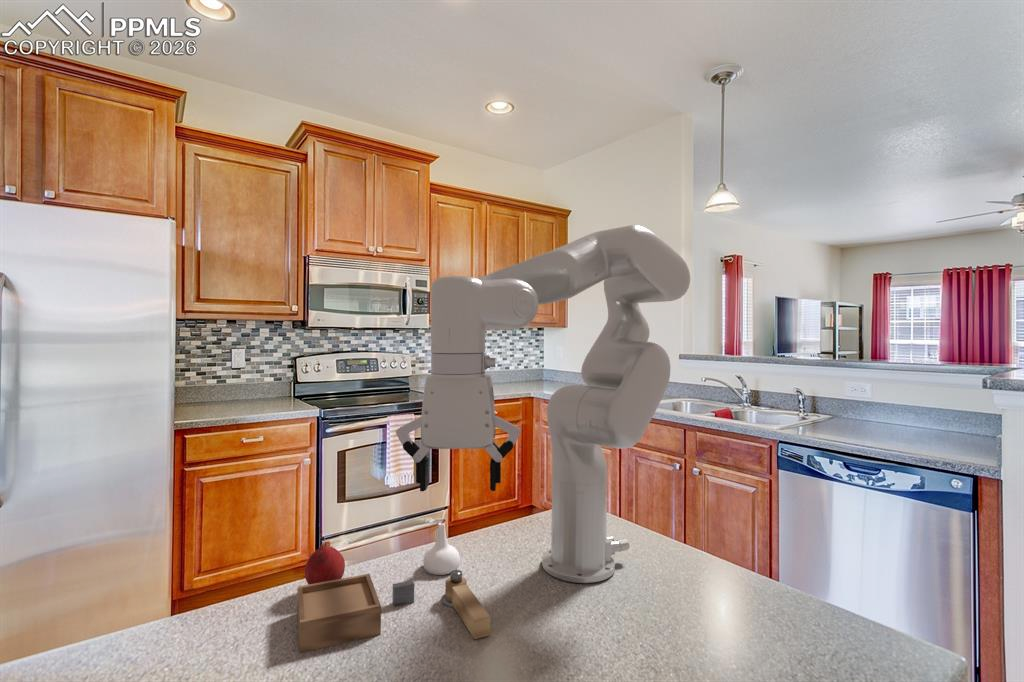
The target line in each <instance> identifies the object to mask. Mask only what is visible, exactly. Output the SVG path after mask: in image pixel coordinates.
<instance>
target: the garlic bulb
mask: <svg viewBox="0 0 1024 682" xmlns="http://www.w3.org/2000/svg"><path fill="white" fill-rule="evenodd" d="M437 525H438V526H437V533H436V538H435V539H436V540H435V543H434V545H433V546H430V548H428V549H427V550H426V552H425V554H424V556H423V560H422V564H423V567H424V570H425V571H426V573H429V574H430V575H433V574H434V575H435V576H447V575H450V574H449V573H450V572H451V571H453V570H458V568H459V567H460V563H461V556H460V554H459V553H460V552H459V551H458V549H456V547H455V546H453V545H451V544H449V543H448V539H447V534H446V524H445V522H443V523H441V522H438V523H437ZM446 574H447V575H446Z"/></svg>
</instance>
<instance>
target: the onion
mask: <svg viewBox="0 0 1024 682" xmlns="http://www.w3.org/2000/svg"><path fill="white" fill-rule="evenodd" d="M331 544H332V543H331V541H330V540H329V539H326V540H324V541H323V542H322V543H321V545H320V546H319V548H317V549H315V550H314V551H313V552H312V554H311V555H310V556H309V557H308V560H307V561H306V563H305V566H304V577H305V581H306V583H307V585H309V584H315V583H320V582H326V581H331V580H337V579H342V578H344V577H343V576H344V573H345V569H346V564H345V563H346V561H345V559H344V556H343V555H342V554H341V552H340V551H339V550H338V549H337V548H336V547H333V546H332V545H331Z"/></svg>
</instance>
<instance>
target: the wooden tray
mask: <svg viewBox="0 0 1024 682" xmlns="http://www.w3.org/2000/svg"><path fill="white" fill-rule="evenodd" d="M374 585H375V584H374V583H373V580H372V578H371V574H370V573H366V574H361V575H355V576H350V577H349V576H348V577H342V578H341V579H337V580H331V581H326V582H320V583H315V584H309V585H308V584H303V585H297V603H296V604H297V606H296V607H297V630H298V632H297V633H298V651H299V654H300V653H305V652H311V651H313V650H318V649H323V648H327V647H331V646H332V647H333V646H335V645H340V644H345V643H347V642H348V643H349V642H353V641H358V640H362V639H365V638H370V637H375V636H378V635H381V634H382V604H381V602H380V599H379V597H378V593H377V591H376V588H375V586H374Z"/></svg>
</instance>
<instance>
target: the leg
mask: <svg viewBox="0 0 1024 682" xmlns="http://www.w3.org/2000/svg"><path fill="white" fill-rule="evenodd" d="M467 581H468V580H467V578H466V577H464V576H462V582H460V583H451V582H450V577H448V578H446V580H445V591H444V592H445V593H444V594H445V599H446V601H448V602H450V603H452V605H453V606H454V607H453V608H454V610H456V613H458V616H460V619H461V620H462V622H463V624H464V625H465V627H466V628H467V630H468V631H469V633H470V634H471V636H472V638H473V639H474V640H476V639H481V638H485V637H488V636H491V616H490V614H489V613H488V611H487V610H486V609H485V607H484V606H483V605H482V603H481V602H480V601H479V599H478V598H477V597H476V595H475V594H474V592H473V591H472V590H471V589H470V587H469V586H468V585H467V584H468V583H467Z"/></svg>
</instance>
